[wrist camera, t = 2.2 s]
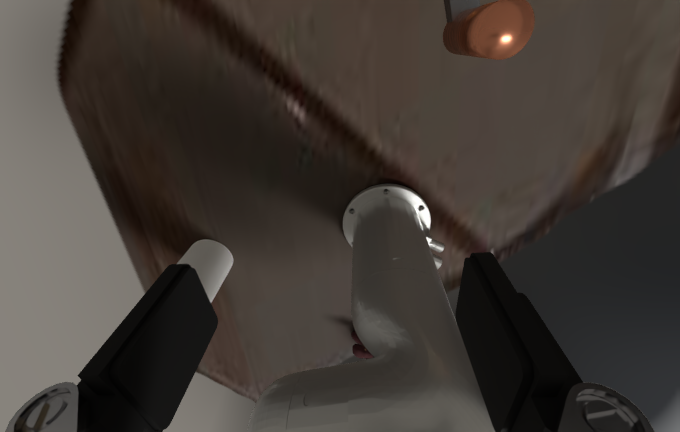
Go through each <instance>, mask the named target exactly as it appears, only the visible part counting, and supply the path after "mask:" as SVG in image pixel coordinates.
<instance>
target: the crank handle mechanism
mask: <svg viewBox="0 0 680 432" xmlns="http://www.w3.org/2000/svg"><path fill="white" fill-rule="evenodd" d="M444 4H445V11H446V18H447V24H446V26H445V29H444V32H443V42H444V45H445V47H446V49H447V50H448V51H449V52H451V53H453V54H458V55H466V56H473V57H481V58H488V59H496V60H502V59H506V58H509V57H511V56H513V55H515V54H516V53H518V52H519V51H520V50H521V49H522V48H523V47H524V46H525V45H526V43H527V42H528V40H529V38H530V36H531V34H532V32H533V28H534V20H535V19H534V12H533V9H532V7H531V6H530V4H529V3H528V2H527V1H525V0H499V1H496V2H492V3H489V4H486V5H482V6H480V1H479V0H444Z"/></svg>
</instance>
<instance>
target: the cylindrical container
mask: <svg viewBox="0 0 680 432" xmlns="http://www.w3.org/2000/svg"><path fill="white" fill-rule="evenodd" d="M177 264H189V265H190V266H191V267H192V268H194V269H195V270H196V272H197V274H198V276H199V279H200V281H201V283H202V285H203V287H204V289H205V292H206V294H207V296H208V298H209V300H210V303H212V301H213V299H214V297H215V295H216V294H217V292H218V290H219V288H220V286H221V285H222V283H223V281H224V279H225V278H226V276H227V274H228V272H229V271H230V269H231V267H232V265H233V256H232V254H231V252H230V251H229V250H228V249H227V248H226V247H225V246H224V245H223V244H221V243H219V242H217V241H214V240H208V239H204V240H199V241H197V242H195V243H194V244H193V245H192V246H191V247H190V248H189V250H188V251H187V252H186V253H185V254H184V256H183V257H182V258H181V259H180V261H179V262H178V263H177Z"/></svg>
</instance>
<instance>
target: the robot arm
mask: <svg viewBox="0 0 680 432" xmlns="http://www.w3.org/2000/svg"><path fill="white" fill-rule="evenodd" d="M384 189H387V190H384ZM420 205H421V206H420ZM351 208H352V209H351ZM430 226H431V217H430V212H429V209H428V207H427V205H426V203H425V201H424V200H423V199H422V198H421V196H420V195H419V194H417V193H416V192H415V191H413V190H412V189H410V188H407V187H405V186H402V185H398V184H379V185H375V186H371V187H369V188H367V189H365V190H362V191H361V192H360V193H358V194H357V195H356V196H355V197H354V198H353V199H352V200H351V201H350V202H349V204H348V205H347V207H346V210H345V212H344V216H343V231H344V235H345V237H346V240H347V241H348V243H349V244H350V246H351V247H353V254H352V293H351V316H352V322H353V326H354V329H355V331H356V333H357V336H358V337H359V339H360V340H361V342H362V343H363V345H364V346H365V347H366V349H367V350H368V351H369V352H370V353H371V354H372V355H373V356H374V358H370V359H366V360H360V361H357V362H355V363H349V364H343V365H337V366H331V367H325V368H319V369H313V370H307V371H302V372H297V373H293V374H289V375H287V376H284V377H282V378H280V379H278V380H276V381H275V382H273V383H272V384H271V385H269V386H268V387H267V388H266V389H265V391H264V392H263V393H262V394H261V396H260V397H259V399H258V400H257V402H256V404H255V407H254V409H253V411H252V414H251V418H250V422H249V426H248V432H654V430H653V428H652V426H651V424H650V422H649V420H648V419H647V418H646V417H645V415H644V414H643V413H642V412H641V410H640V409H639V408H638V407H637V406H636V405H634V404H633V403H632V402H631V401H630V400H629V399H627V398H626V397H624V396H623V395H621V394H620V393H618V392H616V391H615V390H613V389H611V388H608V387H606V386H603V385H600V384H596V383H591V382H585V383H583V381H582V380H581V378H580V377H579V375H578V374H577V372H576V371H575V369H574V368H573V366H572V365H571V363H570V362H569V360H568V359H567V357H566V355H565V354H564V353H563V351H562V349H561V348H560V346H559V345H558V343H557V342H556V340H555V339H554V337H553V336H552V334H551V333H550V331H549V330H548V328H547V327H546V325H545V323H544V322H543V320H542V319H541V317H540V316H539V314H538V313H537V311H536V310H535V308H534V307H533V305H532V304H531V302H530V301H529V299H528V298H527V297H526V296H525V295H524V294H523V293H517V292H516V290H515V289H514V287H513V285H512V284H511V282H510V281H509V279H508V277H507V276H506V274H505V273H504V271H503V270H502V268H501V267H500V265H499V263H498V261H497V260H496V258H495V257H494V255H493V254H492V253H490V252H486V253H472V254H471V256H470V258H465V261H464V267H463V273H462V279H461V285H460V291H459V297H458V302H457V308H456V320H455V318H454V315H453V313H452V310H451V307H450V304H449V301H448V299H447V296H446V293H445V290H444V287H443V284H442V281H441V278H440V276H439V273H438V270H437V269H438V268H439V267H440V266H441V264H442V258H441V257H439V256H437V255H435V254H432V253H431V250H430V248H432V249H433V250H435V251H437V252H442V251H443V249H444V244H443V243H441V242H439V241H437V240H433V239H431V236H430V234H429V230H430ZM456 322H457V323H456ZM217 324H218V319H217V316H216V314H215V311H214V309H213V307H212V305H211V303H210V300H209V298H208V296H207V294H206V292H205V289H204V287H203V285H202V283H201V281H200V279H199V276H198V274H197V272H196V270H195V269H194V268H192V267H191V266H190V265H189V264H171V265H169V266H168V267H167V268H166V269H165V271H164V272H163V273H162V274H161V275H160V277H159V278H158V279H157V280H156V281H155V283H154V284H153V285H152V286H151V287H150V289H149V290H148V291H147V292H146V294H145V295H144V296H143V297H142V298H141V300H140V301H139V302H138V303H137V304H136V306H135V307H134V308H133V309H132V310H131V312H130V313H129V314H128V315H127V317H126V318H125V319H124V320H123V321H122V323H121V324H120V325H119V326H118V327H117V329H116V330H115V331H114V332H113V333H112V335H111V336H110V337H109V338H108V340H107V341H106V342H105V343H104V344H103V346H102V347H101V348H100V349H99V350H98V352H97V353H96V354H95V355H94V356H93V358H92V359H91V360H90V361H89V363H88V364H87V365H86V366H85V367H84V369H83V370H82V371H81V372H80V374H79V375H78V376H79V377H80V379H81V381H80V382H79V384H78V385H75V384H74V383H71V382H64V383H59V384H56V385H53V386H51V387H49V388H46V389H45V390H43V391H41V392H40V393H38V394H36V395H35V396H34V397H33V398H31V399H30V400H29V401H28V402H26V403H25V404H24V405H23V406H22V407H21V408H20V409H19V410H18V411H17V412H16V414H15V415H14V416H13V418H12V419H11V421H10V422H9V424H8V427H7V429H6V431H5V432H162V431H163V430H164V429H166V428H167V427H168V426H169V425H170V423H171V421H172V419H173V417H174V415H175V413H176V411H177V408H178V407H179V404H180V402H181V400H182V398H183V396H184V394H185V392H186V390H187V388H188V385H189V384H190V382H191V379H192V377H193V375H194V373H195V371H196V369H197V367H198V365H199V363H200V361H201V359H202V357H203V355H204V353H205V351H206V349H207V347H208V344H209V342H210V340H211V338H212V336H213V334H214V332H215V330H216V328H217Z"/></svg>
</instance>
